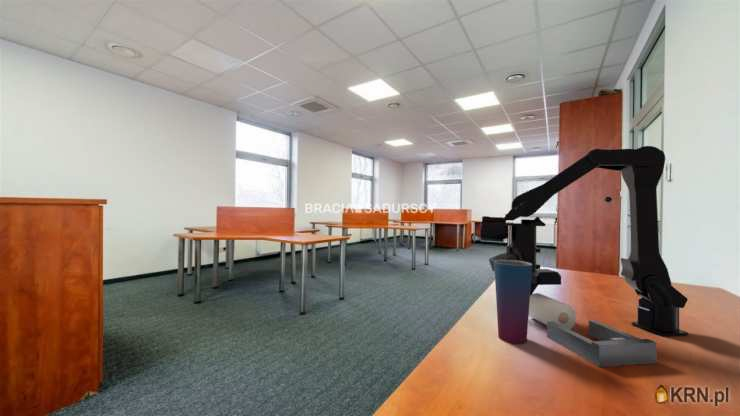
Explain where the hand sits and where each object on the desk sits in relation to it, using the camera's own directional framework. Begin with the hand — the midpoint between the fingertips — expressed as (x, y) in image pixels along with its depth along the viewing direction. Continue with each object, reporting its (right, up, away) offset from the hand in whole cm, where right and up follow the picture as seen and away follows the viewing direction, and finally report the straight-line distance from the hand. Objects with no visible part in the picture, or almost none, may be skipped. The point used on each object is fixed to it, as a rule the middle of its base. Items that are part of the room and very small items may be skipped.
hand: (523, 304), depth 73 cm
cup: (-11, -1, -17) cm, 20 cm away
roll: (+1, -2, -9) cm, 9 cm away
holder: (+3, -1, -20) cm, 20 cm away
